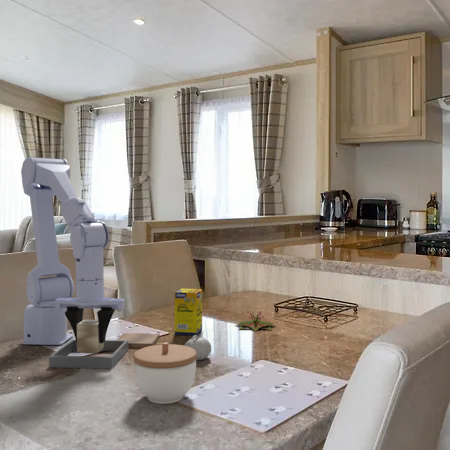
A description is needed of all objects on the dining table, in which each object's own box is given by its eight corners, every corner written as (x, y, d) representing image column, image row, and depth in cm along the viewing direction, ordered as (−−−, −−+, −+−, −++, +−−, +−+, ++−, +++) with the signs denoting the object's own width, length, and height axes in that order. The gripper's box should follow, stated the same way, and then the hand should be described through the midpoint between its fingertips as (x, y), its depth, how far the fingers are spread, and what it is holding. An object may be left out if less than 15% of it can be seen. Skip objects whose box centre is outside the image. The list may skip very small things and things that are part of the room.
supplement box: (197, 336, 129) (196, 292, 129) (174, 334, 130) (173, 291, 130) (202, 330, 135) (202, 288, 135) (180, 329, 136) (180, 288, 136)
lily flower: (277, 323, 145) (277, 307, 145) (278, 334, 133) (278, 316, 133) (234, 322, 146) (234, 306, 146) (231, 333, 134) (231, 315, 134)
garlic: (190, 364, 107) (190, 339, 106) (180, 357, 111) (180, 333, 111) (216, 360, 109) (216, 336, 109) (205, 353, 114) (205, 330, 114)
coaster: (113, 347, 119) (113, 343, 119) (123, 337, 128) (123, 333, 128) (152, 347, 119) (152, 343, 119) (159, 337, 128) (159, 333, 128)
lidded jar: (136, 387, 94) (136, 335, 93) (196, 385, 94) (195, 334, 94) (131, 410, 83) (130, 353, 82) (197, 408, 84) (197, 351, 83)
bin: (49, 367, 105) (49, 356, 105) (72, 349, 118) (72, 339, 118) (112, 368, 104) (112, 357, 104) (128, 350, 117) (128, 340, 117)
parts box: (77, 352, 109) (76, 324, 109) (84, 346, 113) (83, 319, 113) (97, 353, 109) (97, 324, 108) (103, 347, 113) (103, 319, 113)
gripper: (49, 281, 107) (50, 346, 107) (118, 282, 106) (118, 347, 106) (62, 276, 114) (62, 337, 114) (127, 277, 113) (127, 338, 113)
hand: (90, 341), depth 111 cm, fingers closed on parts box, 4 cm apart
